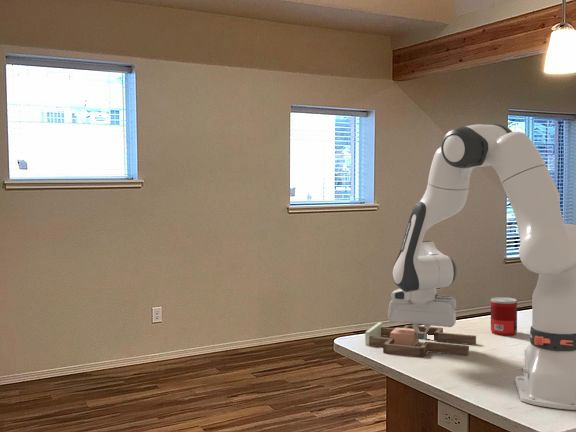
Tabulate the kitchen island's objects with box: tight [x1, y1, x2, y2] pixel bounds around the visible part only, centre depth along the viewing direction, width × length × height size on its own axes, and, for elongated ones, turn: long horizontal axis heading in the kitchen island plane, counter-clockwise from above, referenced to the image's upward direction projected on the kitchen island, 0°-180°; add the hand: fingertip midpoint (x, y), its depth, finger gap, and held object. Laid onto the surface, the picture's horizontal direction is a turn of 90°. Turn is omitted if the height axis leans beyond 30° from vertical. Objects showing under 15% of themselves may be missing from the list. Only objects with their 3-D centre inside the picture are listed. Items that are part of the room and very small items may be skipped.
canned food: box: [490, 296, 518, 337], centre depth 201 cm, size 8×8×11 cm
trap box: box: [364, 321, 477, 358], centre depth 190 cm, size 25×31×4 cm
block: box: [389, 327, 420, 346], centre depth 192 cm, size 7×7×4 cm
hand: (421, 338), depth 190 cm, fingers closed
